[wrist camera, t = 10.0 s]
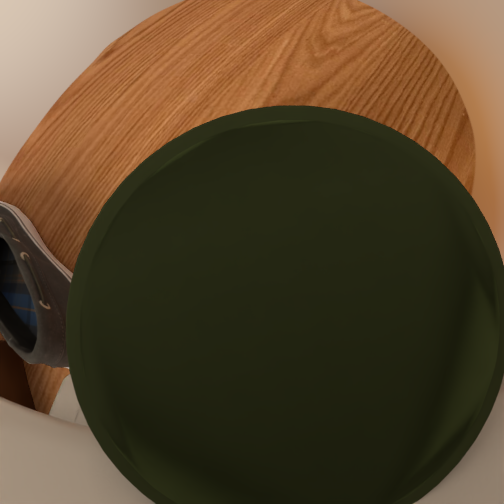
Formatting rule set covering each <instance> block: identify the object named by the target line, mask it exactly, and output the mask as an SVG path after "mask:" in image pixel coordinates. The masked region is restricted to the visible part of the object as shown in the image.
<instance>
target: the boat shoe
mask: <svg viewBox="0 0 504 504" xmlns="http://www.w3.org/2000/svg"><path fill="white" fill-rule="evenodd" d="M72 276H73V273H72V272H71V271H70V270H68V269H67V268H66V267H65V266H64V265H62V264H61V263H60V262H59V261H58V260H57V259H56V258H55V257H54V256H53V254H52V253H51V252H50V251H49V250H48V248H47V247H46V246H45V244H44V242H43V241H42V239H41V237H40V235H39V234H38V232H37V230H36V228H35V227H34V226H33V224H32V222H31V221H30V220H29V219H28V218H27V217H26V215H24V214H23V213H22V212H21V210H20V209H18V208H17V207H15V206H13V205H10V204H8V203H5V202H2V201H0V332H1V334H2V335H3V337H4V338H5V340H6V342H7V343H8V345H9V346H10V347H12V348H13V349H14V351H15V352H16V353H17V354H18V355H19V356H20V357H21V358H22V359H24V360H25V361H26V362H27V363H29V364H40V363H43V364H46V365H48V366H51V367H53V368H56V367H65V368H68V369H69V364H68V356H67V348H66V310H67V302H68V295H69V289H70V283H71V280H72Z"/></svg>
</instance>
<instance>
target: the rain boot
mask: <svg viewBox="0 0 504 504" xmlns="http://www.w3.org/2000/svg"><path fill="white" fill-rule="evenodd" d="M66 348H67V356H68V364H69V371H70V375H71V379H72V383H73V386H74V390H75V394H76V397H77V400H78V403H79V405H80V408H81V410H82V412H83V415H84V417H85V419H86V422H87V424H88V426H89V428H90V430H91V431H92V433H93V435H94V437H95V438H96V440H97V442H98V443H99V445H100V447H101V448H102V450H103V451H104V453H105V454H106V455H107V457H108V458H109V459H110V460H111V462H112V463H113V464H114V465H115V467H116V468H117V469H118V470H119V471H120V473H121V474H122V475H123V476H124V477H125V478H126V479H127V480H128V481H129V482H130V483H131V484H132V485H133V486H134V487H136V488H137V489H138V490H139V491H140V492H141V493H142V494H143V495H145V496H146V497H147V498H148V499H150V500H151V501H153V502H154V503H155V504H413V503H415V502H417V501H419V500H420V499H421V498H422V497H424V496H425V495H426V494H427V493H429V492H430V491H431V490H432V489H434V488H435V487H436V486H437V485H438V484H439V483H440V482H441V481H442V480H443V479H444V478H445V477H446V476H447V475H448V474H449V473H450V472H451V471H452V470H453V469H454V468H455V467H456V466H457V464H458V463H459V462H460V461H461V459H462V458H463V457H464V456H465V454H466V453H467V452H468V450H469V449H470V447H471V446H472V445H473V443H474V442H475V440H476V439H477V437H478V435H479V434H480V432H481V430H482V428H483V426H484V425H485V423H486V421H487V419H488V417H489V415H490V413H491V411H492V408H493V406H494V403H495V401H496V398H497V396H498V393H499V390H500V387H501V384H502V380H503V376H504V265H503V261H502V258H501V255H500V251H499V248H498V246H497V243H496V241H495V238H494V236H493V234H492V231H491V229H490V227H489V225H488V223H487V221H486V219H485V217H484V216H483V214H482V212H481V211H480V209H479V207H478V206H477V204H476V202H475V201H474V199H473V198H472V196H471V195H470V194H469V193H468V191H467V190H466V189H465V187H464V186H463V185H462V184H461V182H460V181H459V180H458V179H457V177H456V176H455V175H454V174H453V173H452V172H451V171H450V170H449V169H448V168H447V167H446V166H445V165H443V164H442V163H441V162H440V161H439V160H438V159H437V158H436V157H435V156H433V155H432V154H431V153H430V152H428V151H427V150H426V149H424V148H423V147H422V146H420V145H419V144H418V143H416V142H415V141H413V140H412V139H410V138H408V137H406V136H405V135H403V134H401V133H399V132H398V131H396V130H394V129H392V128H390V127H388V126H386V125H383V124H381V123H378V122H376V121H374V120H371V119H368V118H366V117H363V116H360V115H356V114H352V113H349V112H345V111H341V110H337V109H330V108H323V107H315V106H271V107H263V108H256V109H249V110H245V111H241V112H237V113H234V114H230V115H226V116H223V117H219V118H217V119H214V120H212V121H209V122H207V123H205V124H202V125H200V126H197V127H195V128H193V129H191V130H189V131H187V132H186V133H184V134H182V135H180V136H178V137H177V138H175V139H173V140H172V141H170V142H168V143H167V144H165V145H164V146H163V147H161V148H160V149H159V150H157V151H156V152H155V153H153V154H152V155H151V156H149V157H148V158H147V159H145V160H144V161H143V162H142V163H141V164H140V165H139V166H138V167H137V168H136V169H135V170H134V171H133V172H132V173H131V174H130V175H129V176H128V177H127V178H126V179H125V180H124V181H123V182H122V183H121V184H120V185H119V187H118V188H117V189H116V190H115V192H114V193H113V194H112V195H111V197H110V198H109V199H108V201H107V202H106V203H105V205H104V206H103V208H102V209H101V211H100V213H99V214H98V216H97V218H96V219H95V221H94V223H93V225H92V226H91V228H90V230H89V232H88V234H87V237H86V239H85V241H84V243H83V246H82V248H81V251H80V253H79V255H78V258H77V262H76V265H75V269H74V272H73V276H72V280H71V283H70V289H69V295H68V302H67V310H66Z"/></svg>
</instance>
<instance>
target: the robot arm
mask: <svg viewBox="0 0 504 504" xmlns="http://www.w3.org/2000/svg"><path fill="white" fill-rule="evenodd" d="M0 504H155V503H154V502H153V501H151V500H150V499H148V498H147V497H146V496H145V495H143V494H142V493H141V492H140V491H139V490H138V489H137V488H136V487H134V486H133V485H132V484H131V483H130V482H129V481H128V480H127V479H126V478H125V477H124V476H123V475H122V474H121V473H120V471H119V470H118V469H117V468H116V467H115V465H114V464H113V463H112V462H111V460H110V459H109V458H108V457H107V455H106V454H105V453H104V451H103V450H102V448H101V447H100V445H99V443H98V442H97V440H96V438H95V437H94V435H93V433H92V431H91V430H90V428H89V426H88V424H87V422H86V419H85V417H84V415H83V412H82V410H81V408H80V405H79V403H78V400H77V397H76V394H75V390H74V386H73V383H72V379H71V375H70V374H69V375H68V376H67V377H65V378H64V380H63V382H62V384H61V386H60V389H59V391H58V393H57V395H56V398H55V400H54V403H53V405H52V407H51V410H50V412H49V415H47V414H44V413H41V412H38V411H35V410H33V409H30V408H27V407H24V406H22V405H19V404H17V403H14V402H12V401H9V400H7V399H5V398H2V397H0ZM413 504H504V376H503V380H502V384H501V387H500V390H499V393H498V396H497V398H496V401H495V403H494V406H493V408H492V411H491V413H490V415H489V417H488V419H487V421H486V423H485V425H484V426H483V428H482V430H481V432H480V434H479V435H478V437H477V439H476V440H475V442H474V443H473V445H472V446H471V447H470V449H469V450H468V452H467V453H466V454H465V456H464V457H463V458H462V459H461V461H460V462H459V463H458V464H457V466H456V467H455V468H454V469H453V470H452V471H451V472H450V473H449V474H448V475H447V476H446V477H445V478H444V479H443V480H442V481H441V482H440V483H439V484H438V485H437V486H436V487H435V488H434V489H432V490H431V491H430V492H429V493H427V494H426V495H425V496H424V497H422V498H421V499H420V500H419V501H417V502H415V503H413Z"/></svg>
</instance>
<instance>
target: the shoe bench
mask: <svg viewBox="0 0 504 504" xmlns="http://www.w3.org/2000/svg"><path fill="white" fill-rule="evenodd" d="M0 397H2V398H5V399H7V400H9V401H12V402H14V403H17V404H19V405H22V406H24V407H27V408H30V409H33V410H35V411H36V409H35V406H34V403H33V400H32V396H31V393H30V389H29V386H28V382H27V378H26V374H25V370H24V365H23V361H22V358H21V357H20V356H19V355H18V354H17V353H16V352H15V351H14V349H13V348H12V347H10V346H9V345H8V343H7V342H6V340H0Z"/></svg>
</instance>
